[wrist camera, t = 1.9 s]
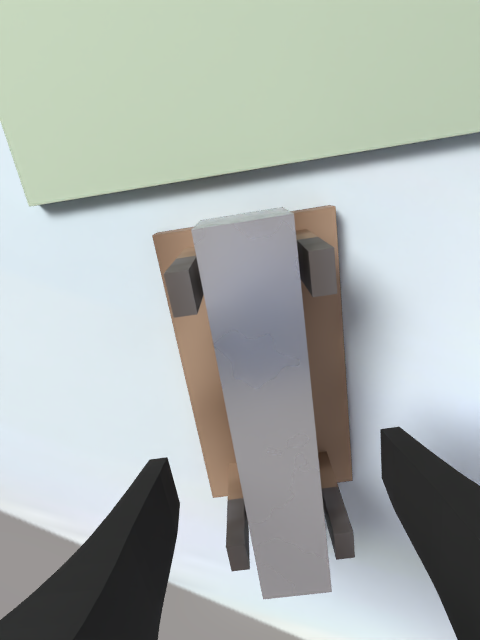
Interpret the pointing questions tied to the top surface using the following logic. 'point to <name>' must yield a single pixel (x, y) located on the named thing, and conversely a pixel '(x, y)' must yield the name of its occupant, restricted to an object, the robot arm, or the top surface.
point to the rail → (267, 392)
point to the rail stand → (324, 365)
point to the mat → (225, 85)
